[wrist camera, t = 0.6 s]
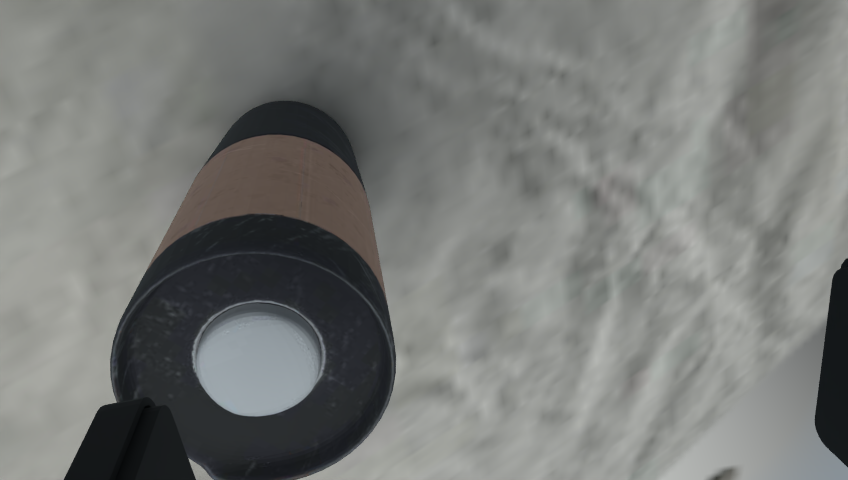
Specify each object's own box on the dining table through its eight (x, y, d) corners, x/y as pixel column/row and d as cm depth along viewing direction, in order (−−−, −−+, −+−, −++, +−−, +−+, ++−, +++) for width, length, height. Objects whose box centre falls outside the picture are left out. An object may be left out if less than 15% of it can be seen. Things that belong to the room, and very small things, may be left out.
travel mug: (354, 90, 35) (394, 231, 16) (364, 225, 38) (407, 472, 19) (204, 99, 34) (70, 259, 16) (226, 237, 37) (136, 507, 19)
